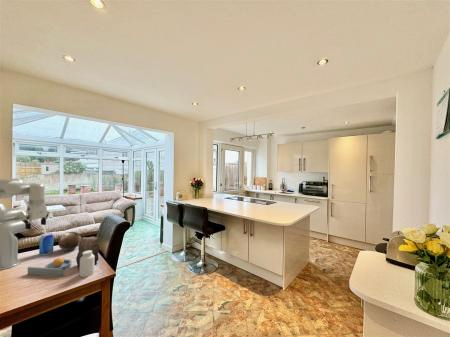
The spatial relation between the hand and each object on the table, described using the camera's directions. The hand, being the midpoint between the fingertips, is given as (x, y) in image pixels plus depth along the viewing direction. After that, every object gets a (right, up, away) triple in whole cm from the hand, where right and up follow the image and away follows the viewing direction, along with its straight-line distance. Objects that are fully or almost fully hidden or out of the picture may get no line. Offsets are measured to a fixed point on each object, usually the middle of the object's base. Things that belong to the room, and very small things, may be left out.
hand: (36, 226), depth 128 cm
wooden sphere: (-4, -31, +33) cm, 45 cm away
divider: (+11, -31, -5) cm, 33 cm away
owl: (+29, -31, +7) cm, 43 cm away
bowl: (+12, -31, +4) cm, 33 cm away
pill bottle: (+37, -31, -3) cm, 49 cm away
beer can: (-17, -30, +25) cm, 43 cm away
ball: (+12, -27, +4) cm, 29 cm away
